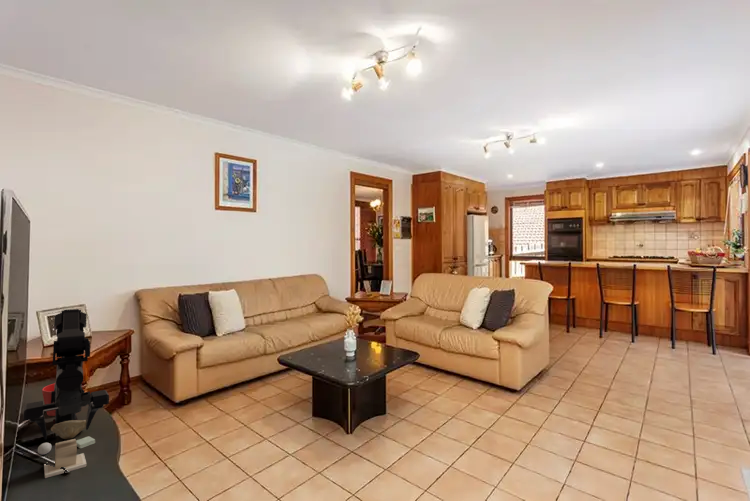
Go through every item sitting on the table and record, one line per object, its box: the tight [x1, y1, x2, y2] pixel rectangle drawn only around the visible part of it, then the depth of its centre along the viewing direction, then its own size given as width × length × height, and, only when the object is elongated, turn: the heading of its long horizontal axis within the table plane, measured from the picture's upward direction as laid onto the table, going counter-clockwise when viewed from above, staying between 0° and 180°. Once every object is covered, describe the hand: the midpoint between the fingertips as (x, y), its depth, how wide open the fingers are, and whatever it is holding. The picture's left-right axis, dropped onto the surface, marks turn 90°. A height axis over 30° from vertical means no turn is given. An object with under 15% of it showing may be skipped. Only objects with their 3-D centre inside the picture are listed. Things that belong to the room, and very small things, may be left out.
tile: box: [76, 435, 96, 449], centre depth 121 cm, size 4×4×2 cm
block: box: [54, 438, 78, 470], centre depth 108 cm, size 4×4×6 cm
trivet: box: [43, 452, 87, 479], centre depth 108 cm, size 7×9×1 cm
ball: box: [37, 442, 52, 455], centre depth 114 cm, size 3×3×3 cm
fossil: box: [50, 419, 86, 440], centre depth 123 cm, size 9×4×10 cm
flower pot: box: [41, 382, 56, 417], centre depth 141 cm, size 11×11×10 cm
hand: (66, 433), depth 108 cm, fingers open, 9 cm apart
